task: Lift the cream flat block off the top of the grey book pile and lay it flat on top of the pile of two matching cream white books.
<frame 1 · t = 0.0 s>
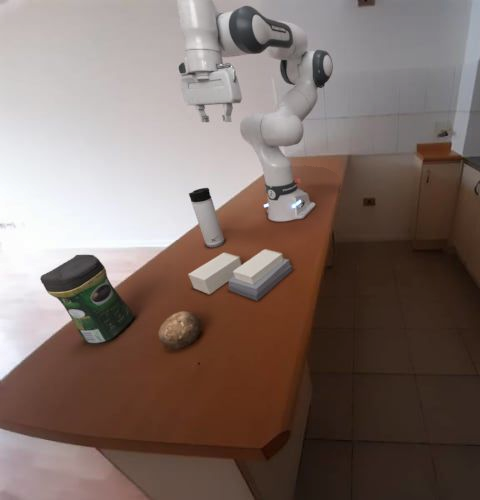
hand: (216, 122, 81), 39 cm above the worktop, tool pointing down, fingers open, 8 cm apart
cream flat block: (259, 269, 76), point 4 cm above the worktop, touching grey book 2
grey book 2: (261, 274, 77), point 2 cm above the worktop, touching grey book 1, cream flat block
travel mug: (216, 243, 99), on the worktop
white book b: (216, 272, 78), point 2 cm above the worktop, touching white book a
white book a: (219, 279, 80), on the worktop, touching white book b
coffee jar: (111, 329, 65), on the worktop
brown oval lump: (185, 339, 61), on the worktop
grey book 1: (262, 280, 78), on the worktop, touching grey book 2
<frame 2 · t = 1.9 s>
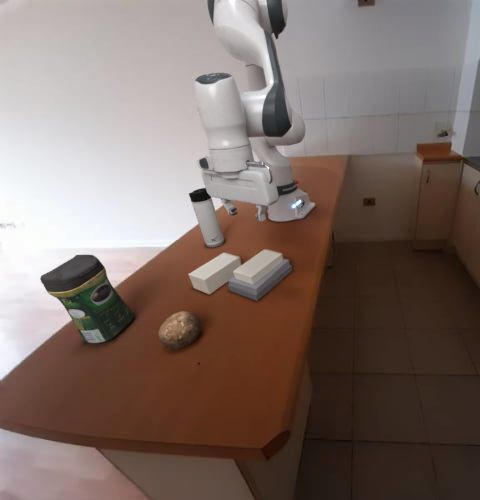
hand: (246, 217, 68), 19 cm above the worktop, tool pointing down, fingers open, 8 cm apart
nothing on the worktop moved.
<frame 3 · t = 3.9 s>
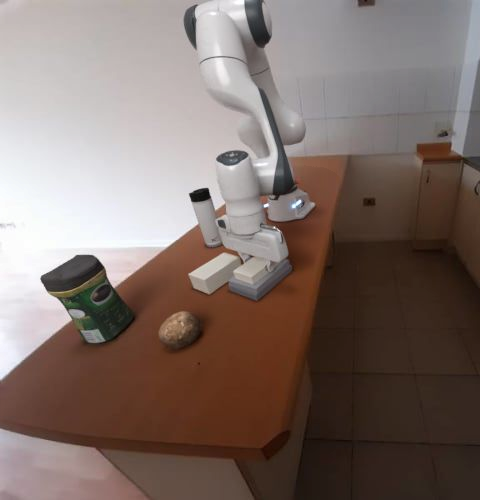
hand: (259, 267, 76), 4 cm above the worktop, tool pointing down, fingers closed on cream flat block, 6 cm apart
cream flat block: (259, 269, 76), point 4 cm above the worktop, touching grey book 2, gripper
everything else where it was.
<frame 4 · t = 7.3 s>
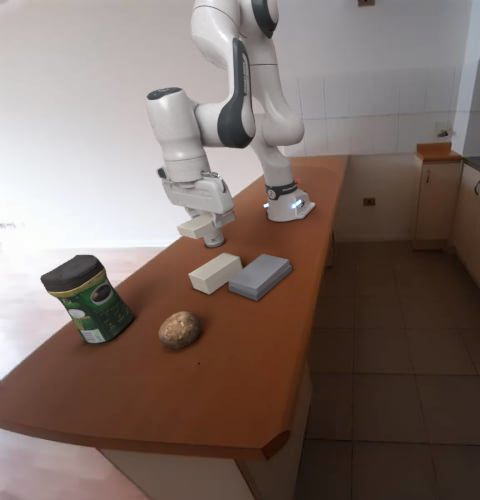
hand: (207, 224, 71), 17 cm above the worktop, tool pointing down, fingers closed on cream flat block, 6 cm apart
cream flat block: (208, 227, 71), point 17 cm above the worktop, touching gripper
grey book 2: (261, 274, 77), point 2 cm above the worktop, touching grey book 1
everything else where it was.
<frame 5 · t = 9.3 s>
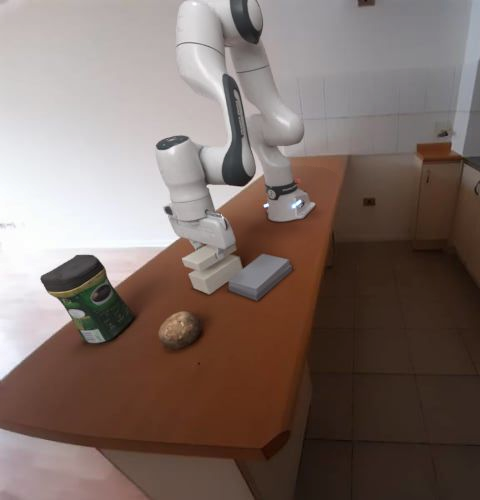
hand: (210, 255, 75), 8 cm above the worktop, tool pointing down, fingers closed on cream flat block, 6 cm apart
cream flat block: (211, 257, 76), point 7 cm above the worktop, touching gripper
everything else where it was.
when the fingers open (5 cm above the worktop, at t = 10.7 s): cream flat block stays where it is, resting on white book b.
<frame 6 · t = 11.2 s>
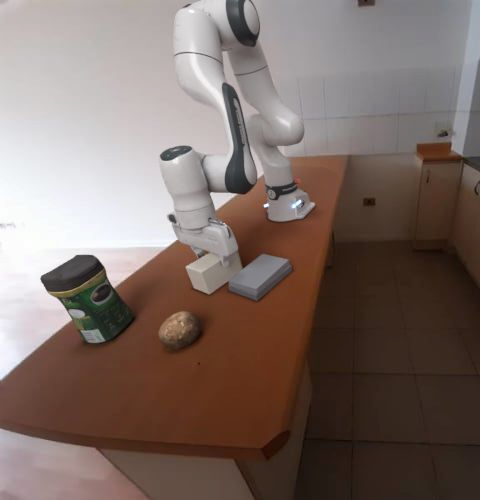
hand: (213, 261, 77), 6 cm above the worktop, tool pointing down, fingers open, 8 cm apart
cream flat block: (214, 265, 77), point 5 cm above the worktop, touching white book b
white book b: (216, 272, 78), point 2 cm above the worktop, touching cream flat block, white book a
everything else where it was.
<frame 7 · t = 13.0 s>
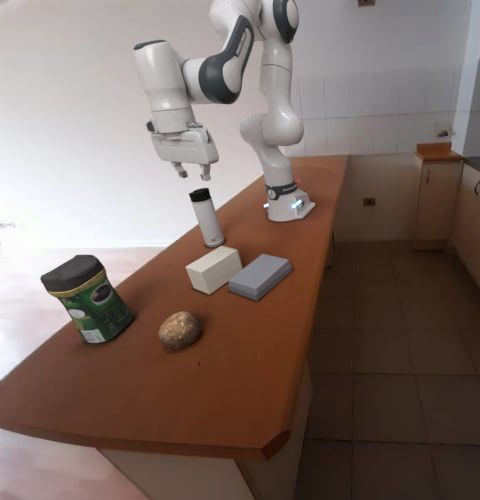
hand: (195, 179, 74), 27 cm above the worktop, tool pointing down, fingers open, 8 cm apart
nothing on the worktop moved.
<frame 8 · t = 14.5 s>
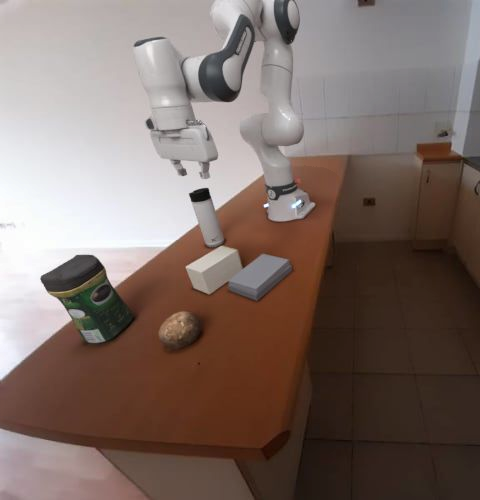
hand: (194, 177, 74), 27 cm above the worktop, tool pointing down, fingers open, 8 cm apart
nothing on the worktop moved.
at the end: cream flat block 0.0 cm off-centre on the white book a, point 4.8 cm above the white book a's base; cream flat block tilted 0°; grey book 2 moved 0.0 cm from its start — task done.
